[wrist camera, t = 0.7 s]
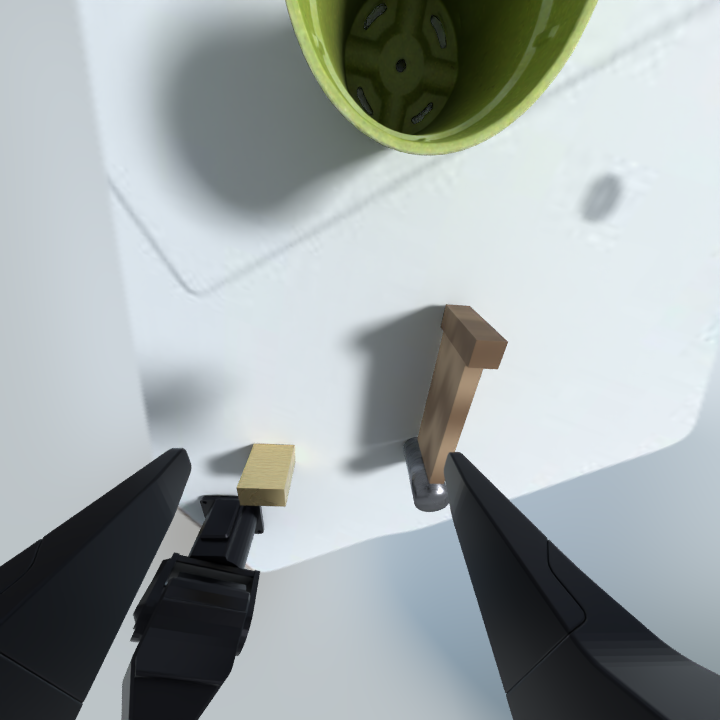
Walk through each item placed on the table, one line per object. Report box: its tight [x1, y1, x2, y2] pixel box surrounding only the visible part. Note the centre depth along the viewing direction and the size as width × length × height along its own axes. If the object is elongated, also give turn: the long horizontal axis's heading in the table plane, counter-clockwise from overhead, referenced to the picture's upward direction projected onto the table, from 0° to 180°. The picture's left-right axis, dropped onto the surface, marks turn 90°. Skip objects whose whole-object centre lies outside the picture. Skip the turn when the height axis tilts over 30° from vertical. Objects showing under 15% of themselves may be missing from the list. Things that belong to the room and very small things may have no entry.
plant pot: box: [285, 0, 598, 155], centre depth 12 cm, size 9×9×9 cm
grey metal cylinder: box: [403, 437, 449, 512], centre depth 27 cm, size 3×3×6 cm
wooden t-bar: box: [417, 304, 508, 484], centre depth 22 cm, size 14×2×6 cm, turn 175°
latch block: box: [237, 444, 295, 506], centre depth 27 cm, size 2×4×5 cm, turn 86°
